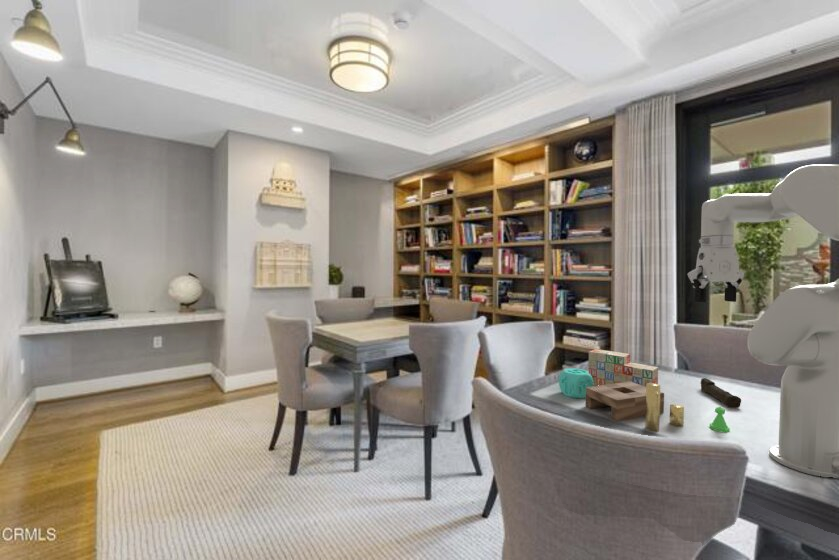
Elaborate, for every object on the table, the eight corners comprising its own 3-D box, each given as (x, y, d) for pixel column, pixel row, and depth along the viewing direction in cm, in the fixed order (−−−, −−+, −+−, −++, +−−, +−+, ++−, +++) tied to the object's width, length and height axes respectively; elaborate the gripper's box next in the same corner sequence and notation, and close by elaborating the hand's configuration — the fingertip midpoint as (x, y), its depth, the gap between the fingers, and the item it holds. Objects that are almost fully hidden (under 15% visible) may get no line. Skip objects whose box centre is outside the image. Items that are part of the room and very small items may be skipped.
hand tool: (741, 409, 118) (742, 394, 118) (726, 408, 119) (727, 393, 119) (710, 390, 136) (711, 377, 136) (697, 389, 137) (698, 376, 137)
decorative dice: (558, 392, 134) (558, 369, 133) (576, 389, 136) (576, 367, 136) (574, 399, 126) (575, 375, 126) (593, 396, 129) (594, 373, 128)
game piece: (708, 428, 104) (708, 406, 103) (710, 424, 107) (711, 402, 107) (728, 433, 101) (729, 411, 100) (730, 428, 104) (731, 406, 103)
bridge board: (663, 412, 115) (664, 393, 114) (616, 421, 109) (617, 400, 109) (629, 399, 126) (630, 381, 126) (585, 406, 120) (585, 387, 120)
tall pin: (662, 430, 103) (663, 385, 102) (653, 432, 102) (654, 387, 101) (651, 425, 106) (652, 382, 105) (642, 427, 105) (643, 383, 104)
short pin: (686, 425, 106) (686, 407, 106) (677, 427, 105) (678, 409, 105) (675, 421, 109) (675, 403, 109) (666, 422, 108) (667, 405, 108)
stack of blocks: (658, 394, 132) (659, 358, 131) (652, 398, 128) (652, 361, 127) (595, 380, 148) (595, 348, 147) (587, 383, 143) (588, 350, 143)
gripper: (700, 241, 107) (699, 303, 108) (756, 242, 109) (754, 302, 110) (679, 243, 114) (678, 300, 115) (731, 243, 116) (729, 300, 117)
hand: (715, 301), depth 112 cm, fingers open, 9 cm apart
